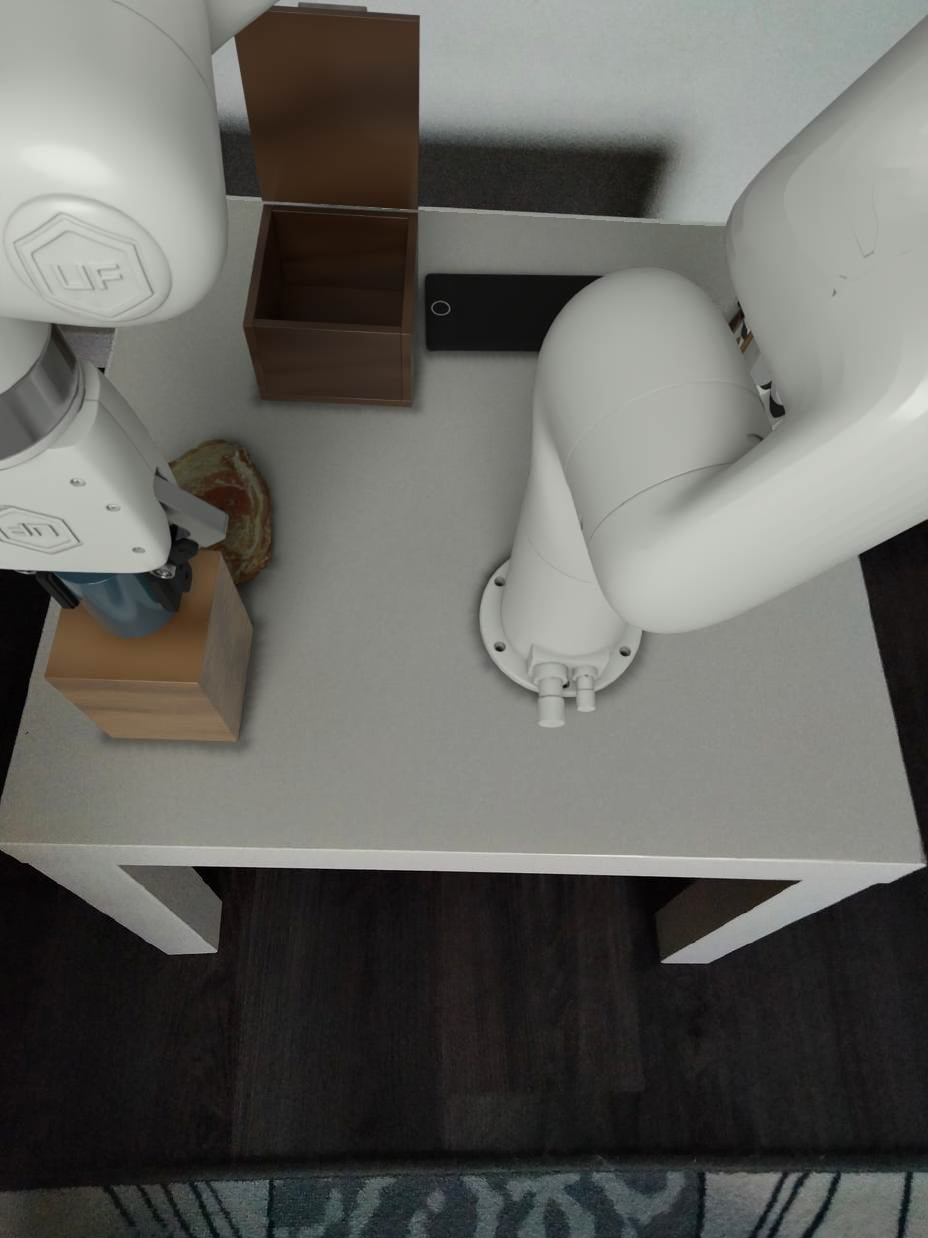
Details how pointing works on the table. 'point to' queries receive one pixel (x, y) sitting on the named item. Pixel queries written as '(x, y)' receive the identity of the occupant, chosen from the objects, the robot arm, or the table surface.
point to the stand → (162, 665)
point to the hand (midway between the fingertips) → (126, 586)
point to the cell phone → (495, 309)
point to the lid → (333, 104)
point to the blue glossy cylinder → (117, 601)
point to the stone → (231, 502)
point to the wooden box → (334, 305)
